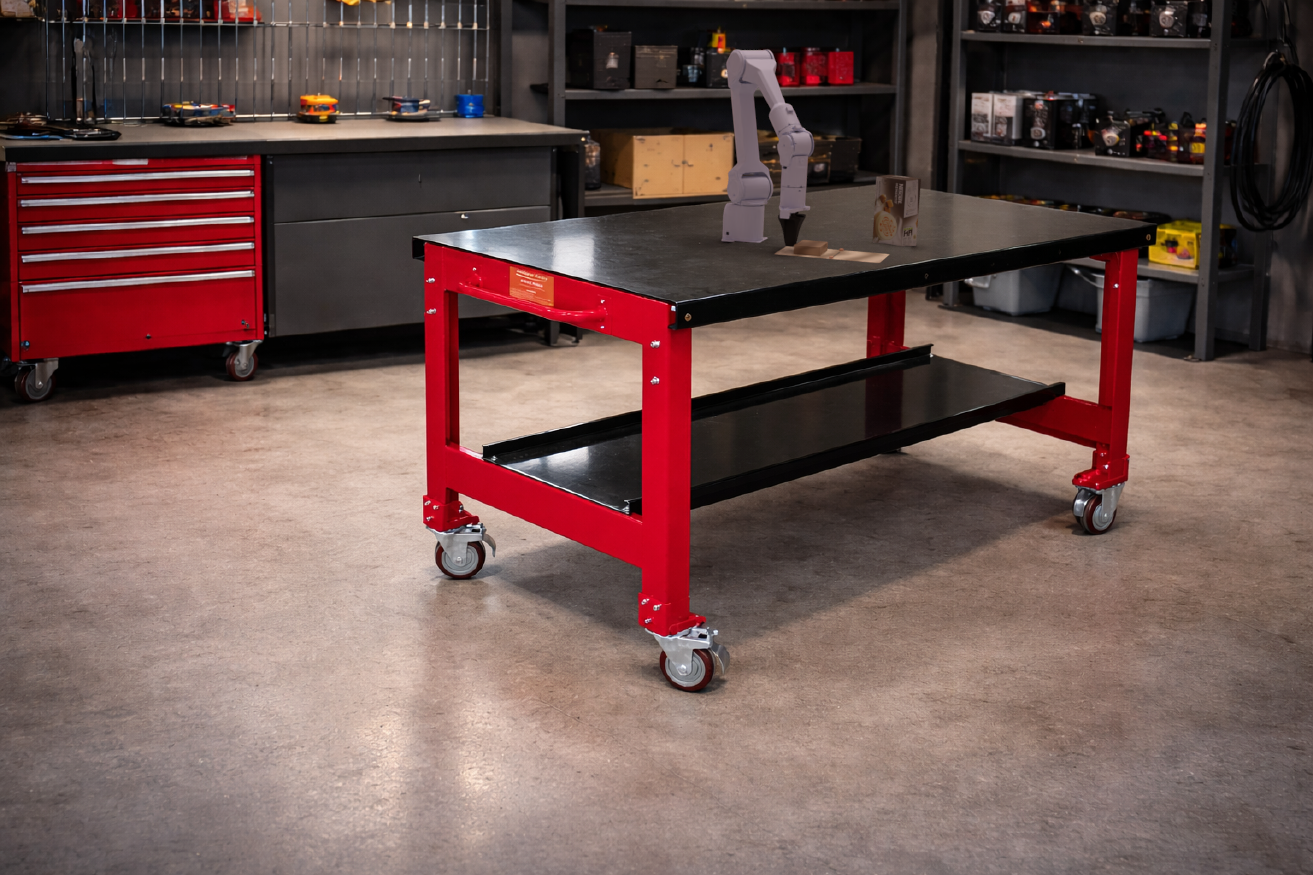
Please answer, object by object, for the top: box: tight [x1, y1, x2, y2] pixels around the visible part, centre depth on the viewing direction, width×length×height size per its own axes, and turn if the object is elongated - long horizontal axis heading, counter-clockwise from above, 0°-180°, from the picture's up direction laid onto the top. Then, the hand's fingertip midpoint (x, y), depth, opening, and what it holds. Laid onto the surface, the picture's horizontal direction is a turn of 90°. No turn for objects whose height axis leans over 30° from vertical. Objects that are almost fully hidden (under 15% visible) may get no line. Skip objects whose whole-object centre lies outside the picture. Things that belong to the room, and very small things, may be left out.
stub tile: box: [794, 239, 829, 256], centre depth 310 cm, size 6×8×2 cm
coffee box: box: [871, 174, 922, 247], centre depth 324 cm, size 9×6×16 cm
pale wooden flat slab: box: [774, 246, 890, 264], centre depth 309 cm, size 24×12×1 cm, turn 71°
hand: (790, 246), depth 312 cm, fingers closed
